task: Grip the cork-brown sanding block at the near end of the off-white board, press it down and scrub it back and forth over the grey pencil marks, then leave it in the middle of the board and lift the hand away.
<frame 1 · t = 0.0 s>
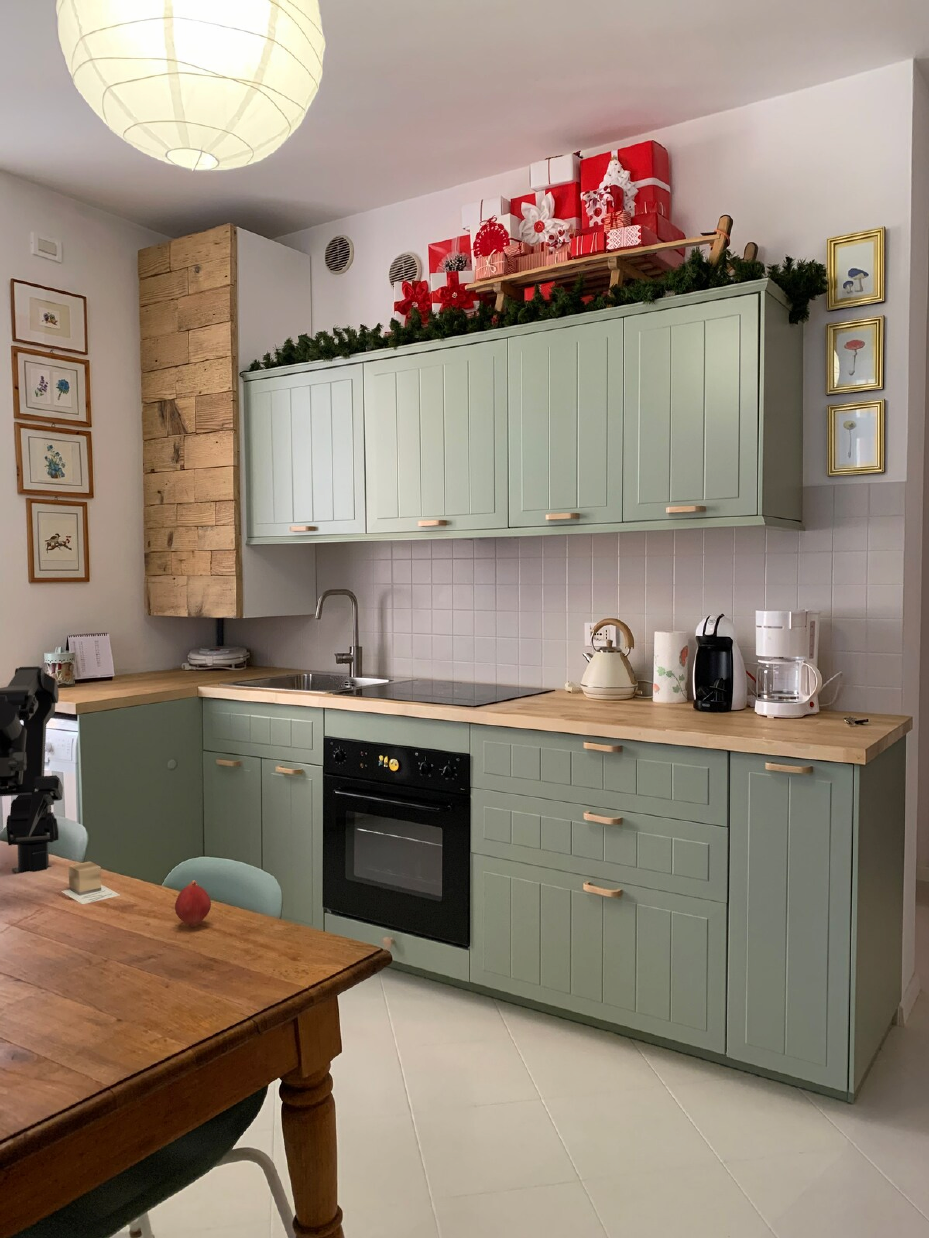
sanding block: (85, 889, 176), point 1 cm above the table, touching board
board: (90, 898, 174), on the table
onion: (193, 927, 159), on the table
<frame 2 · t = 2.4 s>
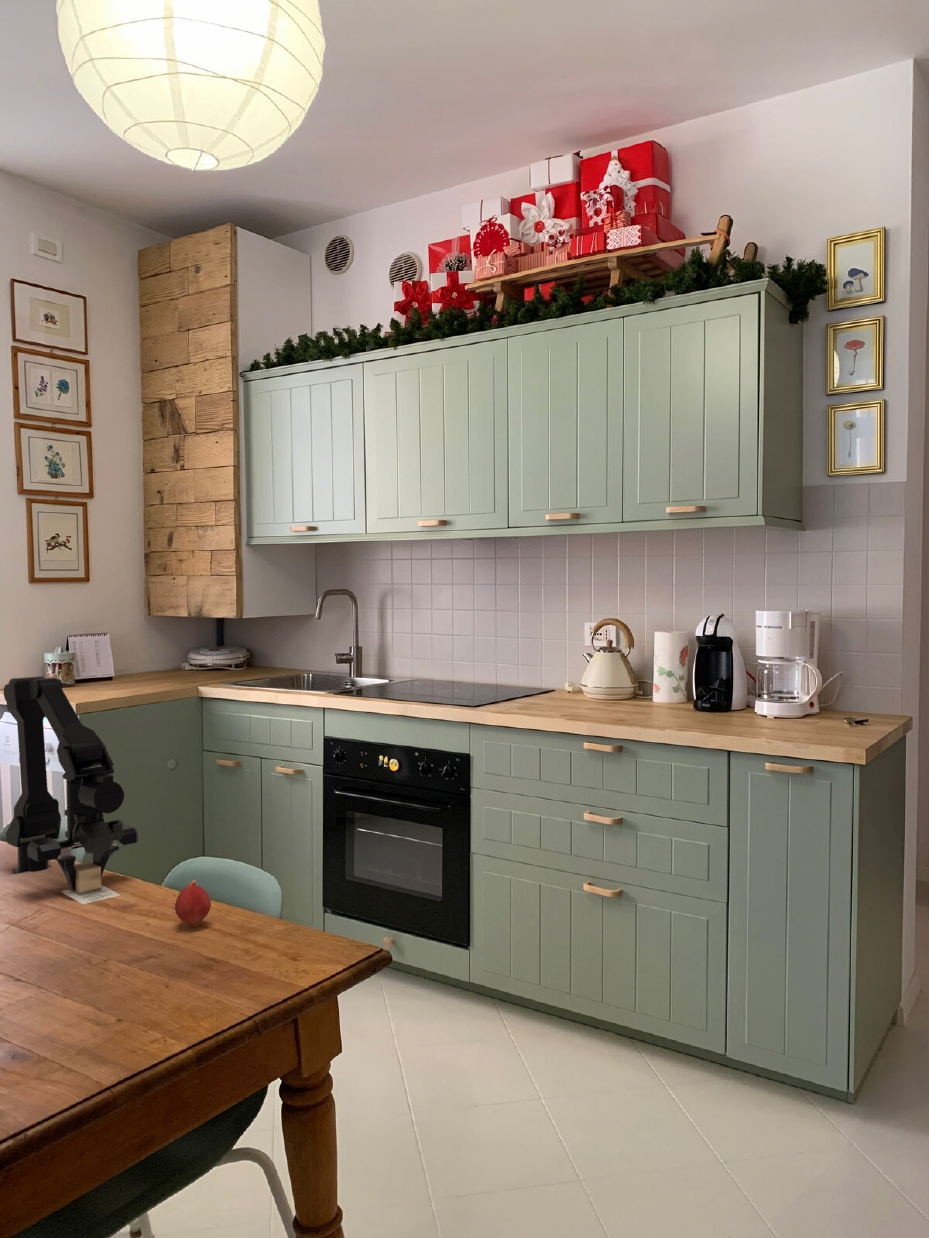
hand: (85, 887, 176), 2 cm above the table, tool pointing down, fingers closed on sanding block, 4 cm apart
sanding block: (85, 889, 176), point 1 cm above the table, touching board, gripper
everything else where it was.
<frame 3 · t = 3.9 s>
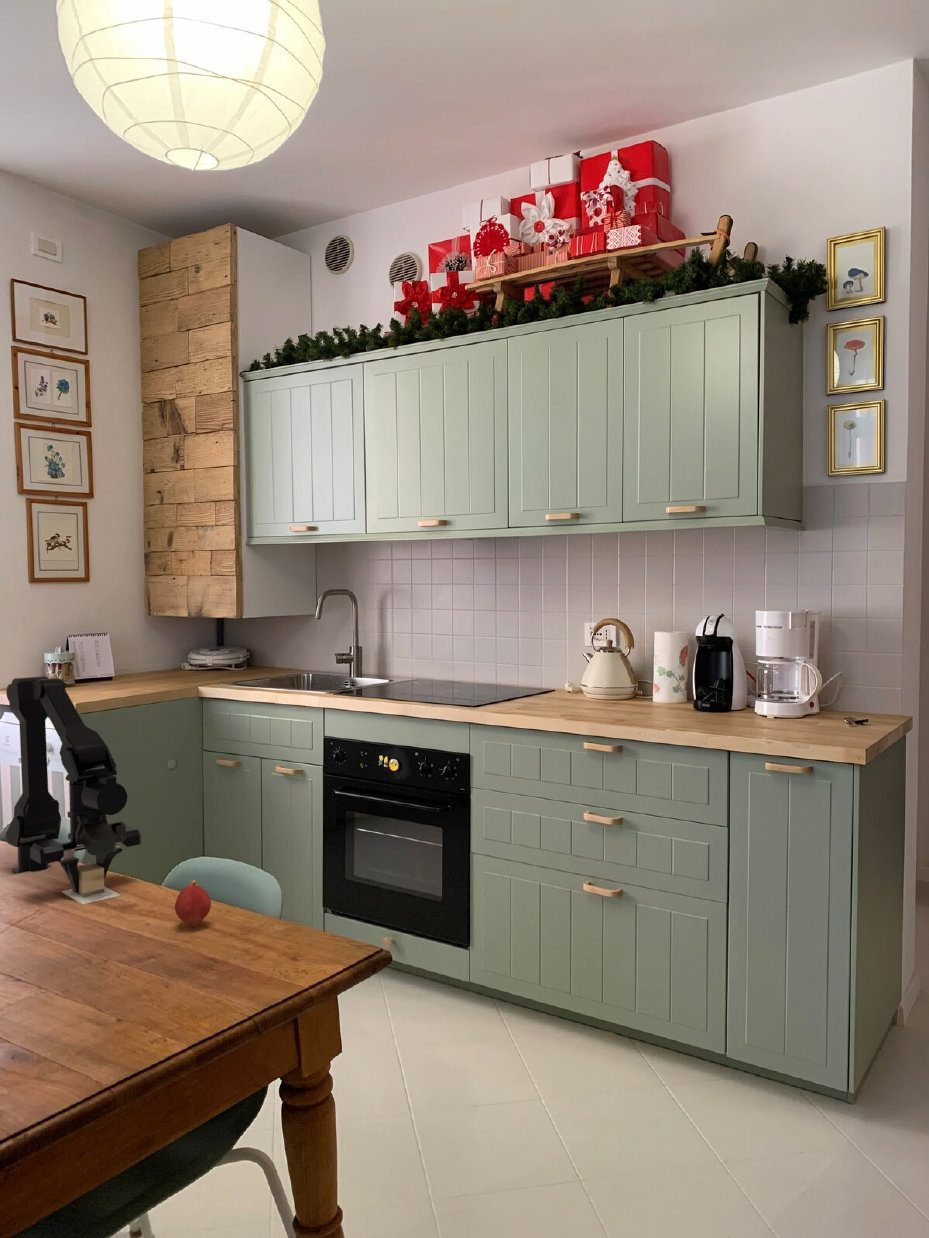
hand: (88, 889, 175), 1 cm above the table, tool pointing down, fingers closed on sanding block, 4 cm apart
sanding block: (88, 891, 175), point 1 cm above the table, touching gripper
everything else where it was.
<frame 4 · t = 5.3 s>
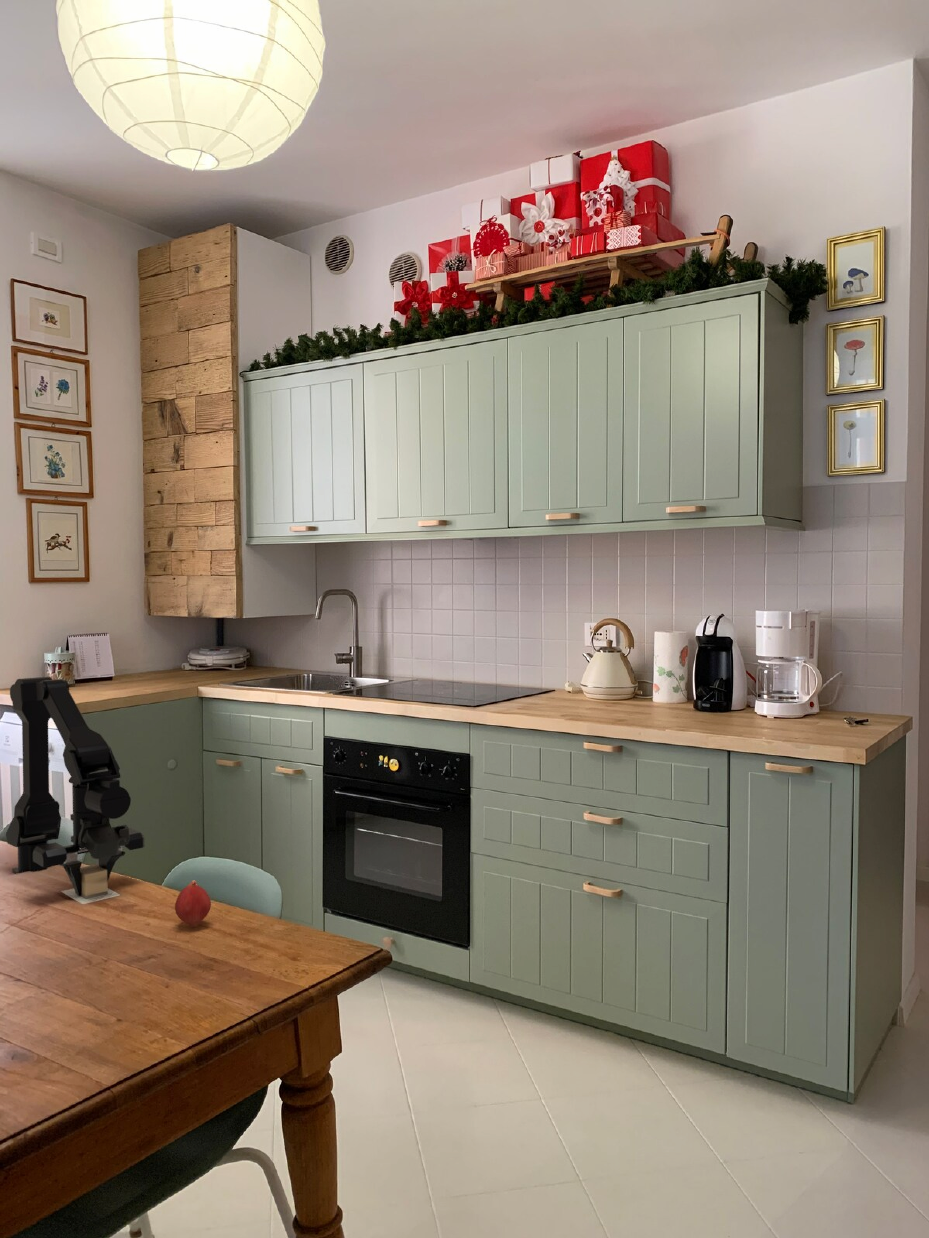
hand: (90, 892, 174), 1 cm above the table, tool pointing down, fingers closed on sanding block, 4 cm apart
sanding block: (91, 893, 174), point 1 cm above the table, touching gripper
everything else where it was.
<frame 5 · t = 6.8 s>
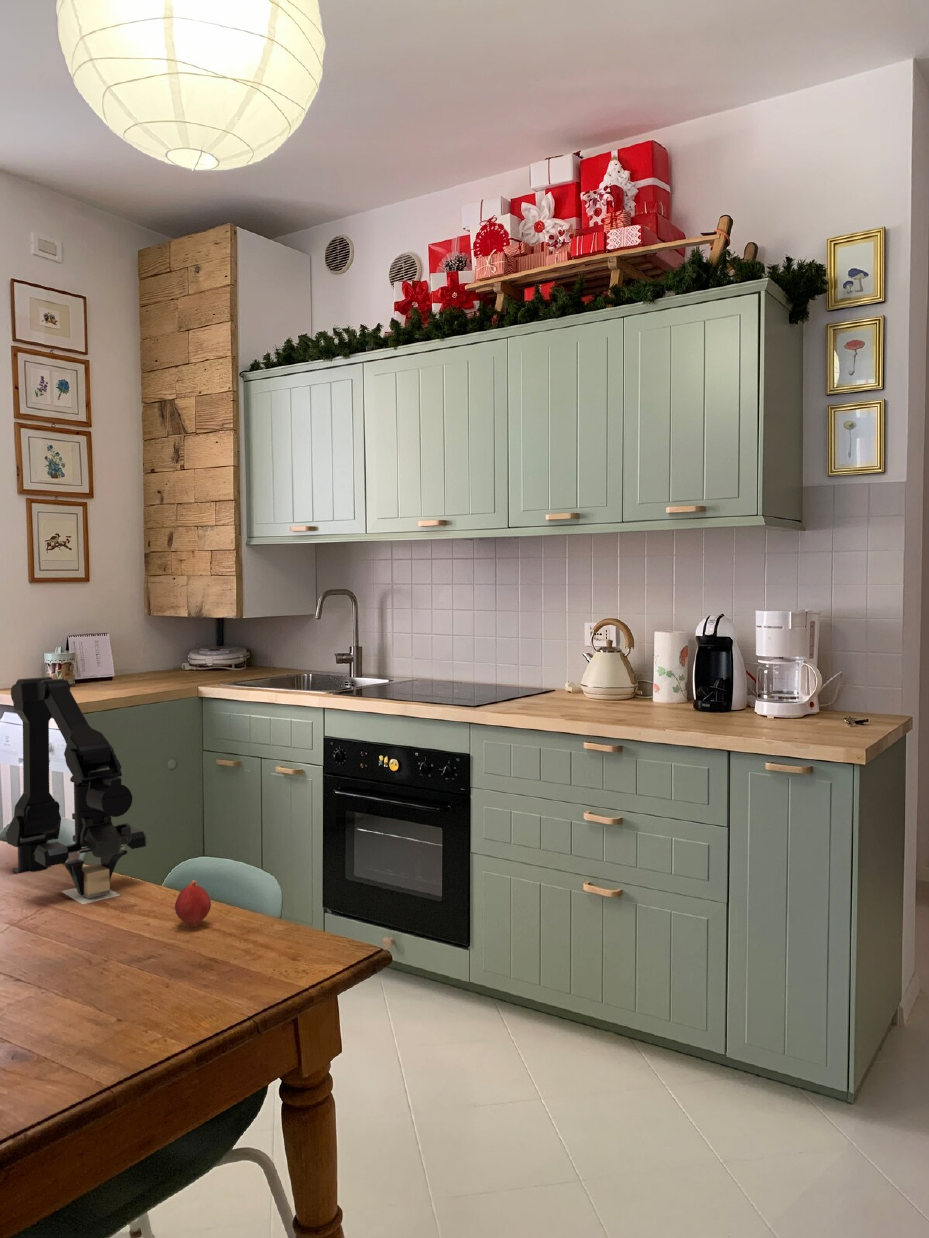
hand: (93, 892, 173), 1 cm above the table, tool pointing down, fingers closed on sanding block, 4 cm apart
sanding block: (93, 892, 173), point 1 cm above the table, touching gripper
everything else where it was.
when the fingers open (1 cm above the table, at t = 8.1 s): sanding block stays where it is, resting on board.
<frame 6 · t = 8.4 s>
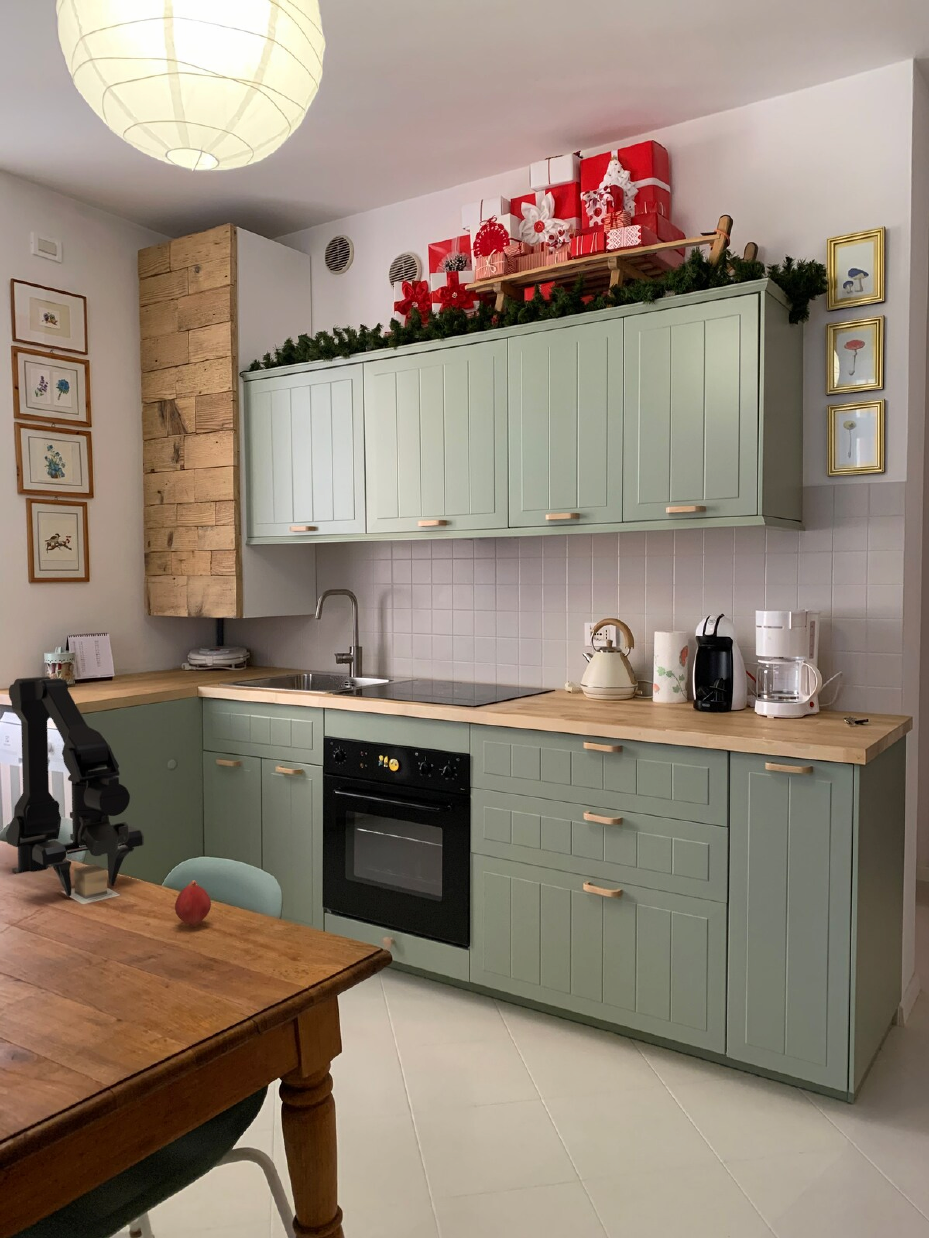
hand: (90, 890, 174), 1 cm above the table, tool pointing down, fingers open, 8 cm apart
sanding block: (90, 893, 174), point 1 cm above the table, touching board
everything else where it was.
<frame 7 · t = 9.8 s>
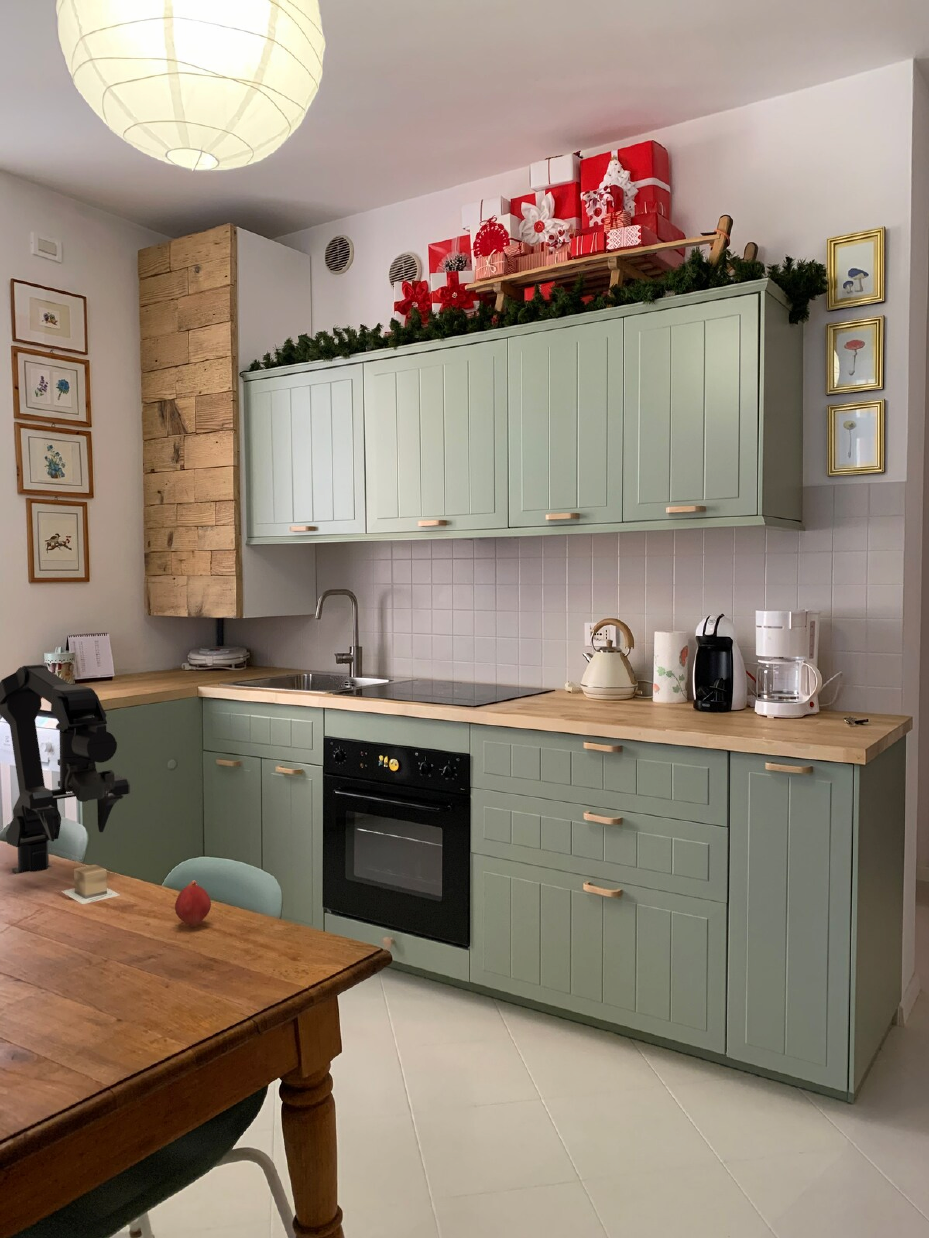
hand: (76, 836, 178), 11 cm above the table, tool pointing down, fingers open, 9 cm apart
nothing on the table moved.
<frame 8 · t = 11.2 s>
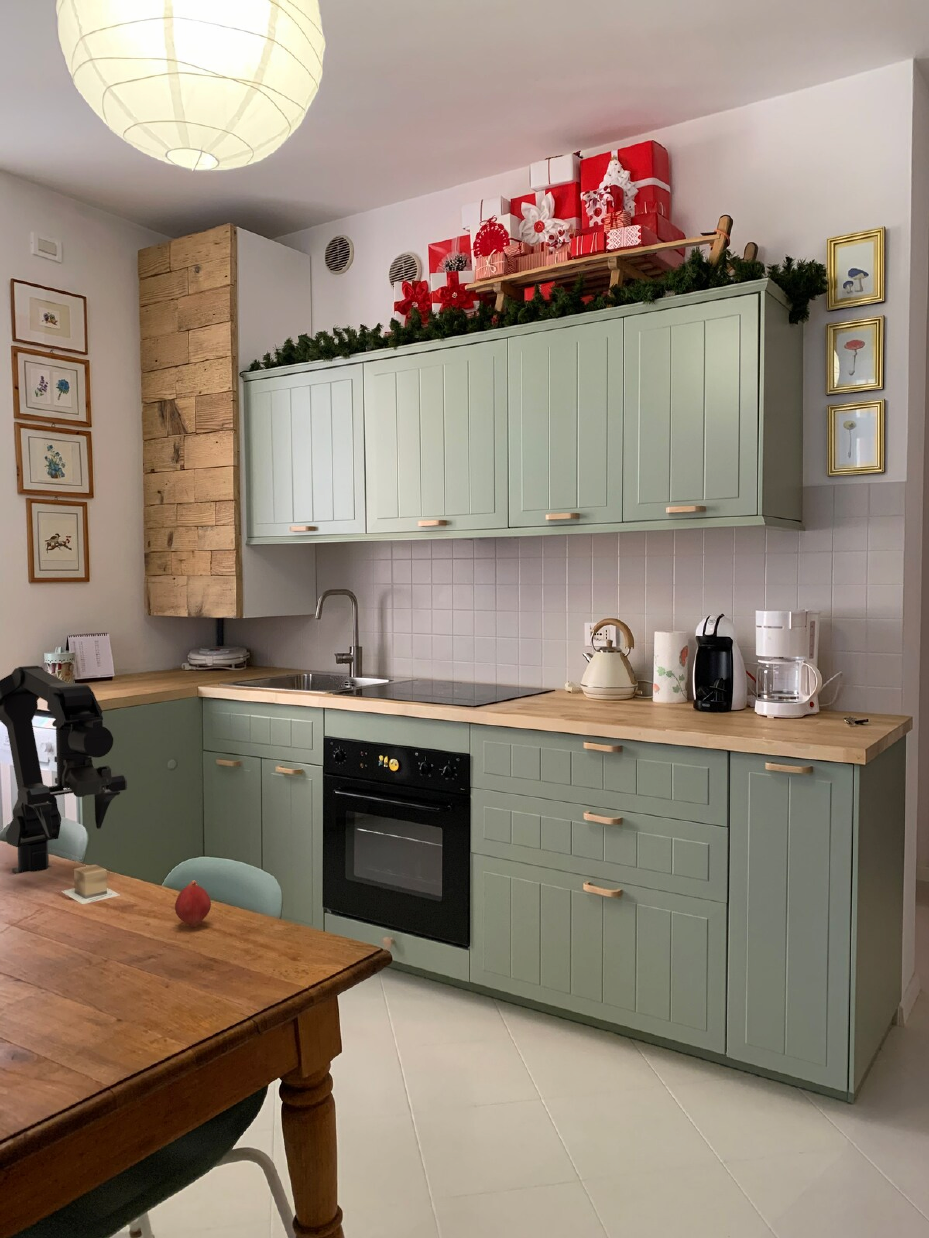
hand: (74, 832, 179), 11 cm above the table, tool pointing down, fingers open, 9 cm apart
nothing on the table moved.
at the end: sanding block 0.1 cm from the target spot, point 1.0 cm above the table; sanding block touching board; sanding block tilted 0° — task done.
